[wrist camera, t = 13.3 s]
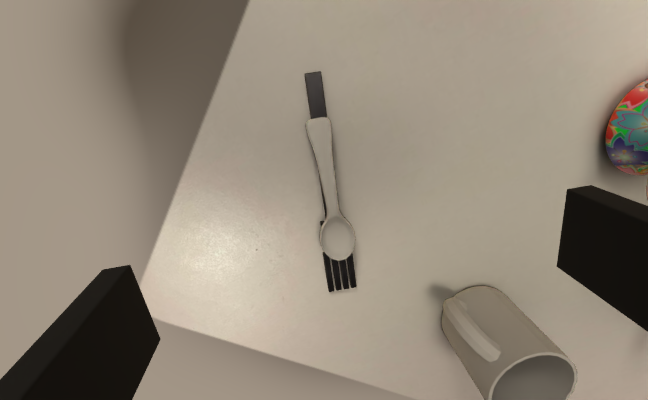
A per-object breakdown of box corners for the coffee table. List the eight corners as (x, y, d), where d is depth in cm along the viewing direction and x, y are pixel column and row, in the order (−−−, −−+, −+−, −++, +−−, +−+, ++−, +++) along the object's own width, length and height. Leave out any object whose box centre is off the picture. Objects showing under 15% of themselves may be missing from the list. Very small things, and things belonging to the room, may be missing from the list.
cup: (471, 352, 36) (526, 434, 28) (405, 308, 33) (445, 385, 25) (521, 306, 35) (595, 378, 26) (457, 256, 32) (517, 319, 23)
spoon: (322, 258, 30) (325, 268, 28) (297, 120, 26) (297, 122, 24) (355, 251, 30) (360, 261, 28) (334, 114, 26) (338, 114, 25)
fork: (295, 75, 25) (295, 75, 24) (329, 70, 25) (330, 69, 25) (328, 289, 32) (329, 292, 31) (355, 284, 32) (356, 287, 31)
